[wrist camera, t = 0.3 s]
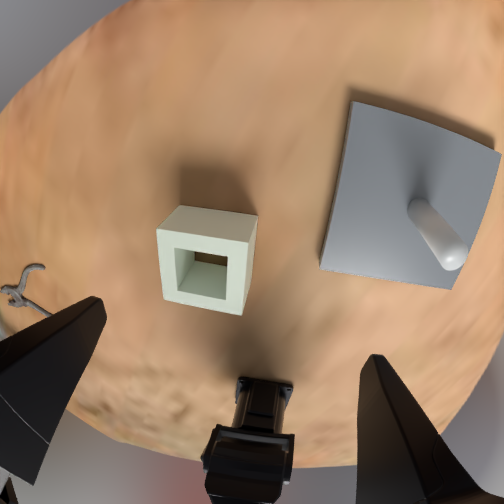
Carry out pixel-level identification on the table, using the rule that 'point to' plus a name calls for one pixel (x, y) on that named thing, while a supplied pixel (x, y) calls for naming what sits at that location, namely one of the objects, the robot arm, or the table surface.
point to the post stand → (406, 199)
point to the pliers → (19, 290)
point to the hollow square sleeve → (213, 242)
